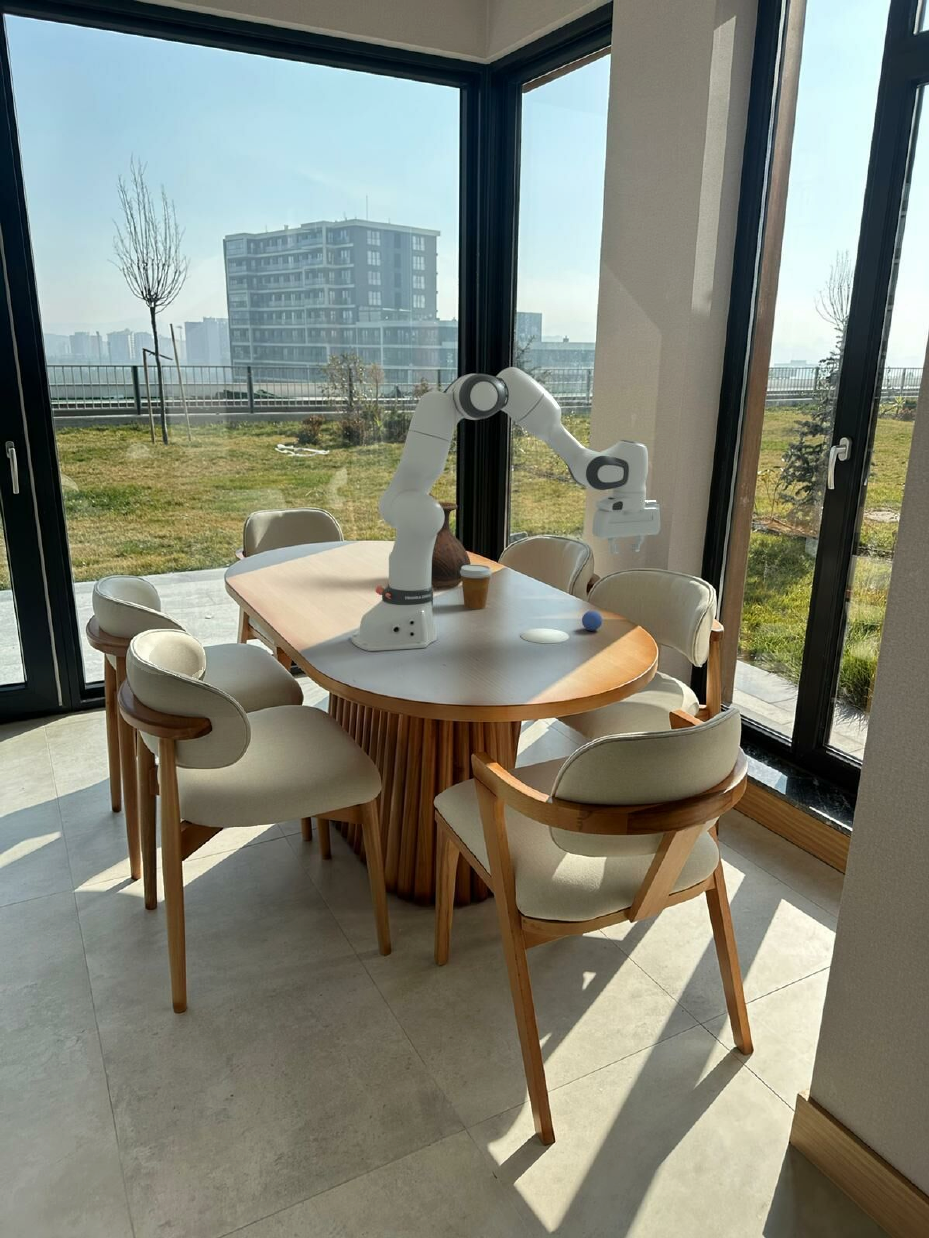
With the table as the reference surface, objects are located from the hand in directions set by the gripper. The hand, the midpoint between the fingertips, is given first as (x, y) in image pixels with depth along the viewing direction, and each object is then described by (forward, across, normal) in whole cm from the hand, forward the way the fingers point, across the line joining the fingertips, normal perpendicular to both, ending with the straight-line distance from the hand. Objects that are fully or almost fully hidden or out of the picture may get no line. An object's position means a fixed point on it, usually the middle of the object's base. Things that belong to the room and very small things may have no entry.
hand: (625, 552), depth 237 cm
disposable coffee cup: (+21, +28, -34) cm, 49 cm away
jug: (+21, +27, -64) cm, 73 cm away
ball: (+18, +10, 0) cm, 21 cm away
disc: (+21, +24, 0) cm, 32 cm away
